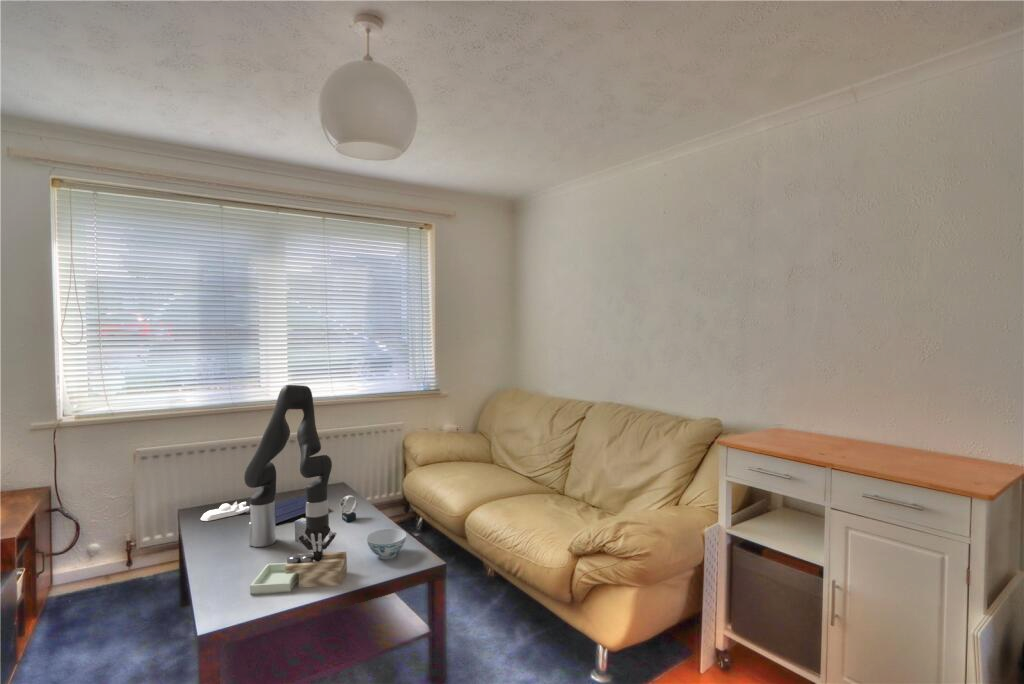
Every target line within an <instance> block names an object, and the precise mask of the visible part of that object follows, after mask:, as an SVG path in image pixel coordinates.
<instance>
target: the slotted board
mask: <svg viewBox="0 0 1024 684" xmlns="http://www.w3.org/2000/svg"><path fill="white" fill-rule="evenodd" d="M298 554H299V555H300V556H302V555H304V554H305V553H298ZM308 554H313V552H312V553H308ZM347 560H348V555H347V551H331V552H323V557H322V559H321V560H320V561H319V562H315V560H314V555H313V563H293V564H286V566H285V574H291V573H299V579H298V587H299V588H309V587H310V588H312V587H327V586H341V585H342V583H343V581H344V579H345V577H346V574H347V573H348V565H347V564H348V561H347Z"/></svg>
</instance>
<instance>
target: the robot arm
mask: <svg viewBox="0 0 1024 684" xmlns="http://www.w3.org/2000/svg"><path fill="white" fill-rule="evenodd" d="M289 410H302V413H303V417H302V420H301V422H300V424H299V426H298V429H297V431H296V439H297V442H298V447H299V449H300V461H299V462H300V464H299V472H300V476H302V477H303V478H305V479H311V478H316V477H318V478H317V479H316V480H315V481H312V482H310V483H309V484H307V485H306V487H305V495H306V513H305V518H306V530H305V533H304V534H301V536H300V537H299V540H300V541H301V542H300V543H301V544H303V546H304V547H305V548H306V550H308V551H312V553H313V555H314V560H315V562H319V561H320V560H321V559H322V557H323V553H324V550H327V548H328V547H329V546H330V544H331V543H332V542H333V540H334V539H335V538H336V536H337V532H333V531H331V527H330V525H329V523H330V521H329V520H330V518H329V509H330V508H329V501H328V500H329V499H328V484H329V479H330V475H331V472H332V468H333V463H332V462H333V461H332V459H331V457H330V456H329V455H327V454H321V455H317V454H318V453H320V451H321V450H322V445H321V440H320V437H319V434H318V430H317V426H316V418H315V417H316V416H315V405H314V397H313V393H312V390H311V388H310V387H309V386H307V385H299V384H285V385H283V387H281V389H280V391H279V393H278V397H277V400H276V403H275V406H274V409H273V412H272V414H271V417H270V420H269V422H268V424H267V426H266V428H265V430H264V432H263V434H262V437H261V441H260V443H259V445H258V447H257V449H256V451H255V453H254V455H253V457H252V458H251V460H250V462H249V464H248V465H247V467H246V469H245V471H244V476H243V477H244V484H245V486H247V487H248V488H251V489H255V488H258V490H256V492H254V493H253V494H251V496H250V498H249V503H250V505H249V507H250V508H249V511H250V521H249V523H248V541H249V543H248V544H249V545H248V546H249V547H254V548H263V547H264V548H265V547H269V546H271V545H273V544H275V542H276V541H277V540H276V539H277V538H276V537H277V535H276V524H275V504H276V500H275V499H276V498H275V497H276V493H277V470H276V469H277V468H276V466H275V464H274V463H273V462H271V461H272V460H273V459H275V458H276V457H277V456H278V455H279V454H280V453H281V452H282V451H283V450H284V448H285V447H286V445H287V443H288V440H289V438H290V436H291V429H290V426H289V424H288V422H287V419H286V413H287V411H289ZM307 537H308V538H309V539H310V540H311V541H312V543H311V542H310V541H309V540H308V539H307ZM326 537H328V539H327V540H326V542H325V543H324V541H325V539H326Z"/></svg>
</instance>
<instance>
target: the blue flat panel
mask: <svg viewBox="0 0 1024 684" xmlns="http://www.w3.org/2000/svg"><path fill="white" fill-rule="evenodd" d="M249 514H250V513H249ZM304 514H306V494H305V495H302V496H301V495H300V496H297V497H294V498H290V499H287V500H285V501H281V502H278V503H275V525H276V524H279V523H281V522H284V521H287V520H289V519H292V518H295V517H298V516H300V515H304Z"/></svg>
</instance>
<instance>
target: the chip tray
mask: <svg viewBox="0 0 1024 684" xmlns="http://www.w3.org/2000/svg"><path fill="white" fill-rule="evenodd" d="M286 564H287V562H279V563H276V562H275V563H267V564H266V565H265V566H264V567H263V569H261V571H260V573H259V574H258V575H257V576H256V577H255V578H254V579H253V581H252V582H251V584H250V585H249V594H250V595H262V594H263V595H265V594H278V593H279V594H280V593H291V592H292V590H293V588H294V586H295V585H296V584H297V582H299V573H291V574H285V566H286Z"/></svg>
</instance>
